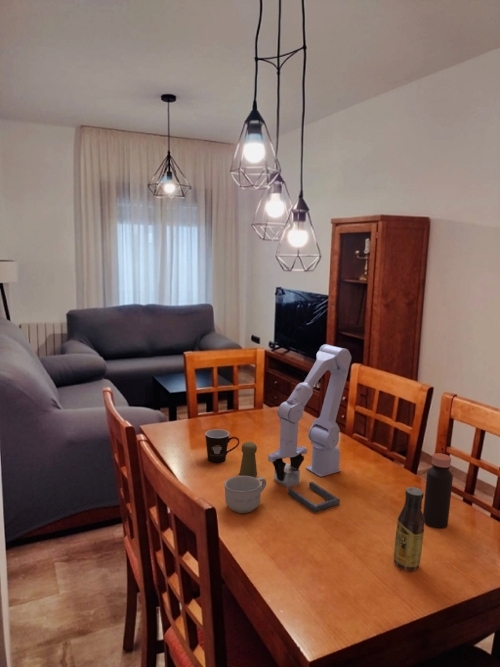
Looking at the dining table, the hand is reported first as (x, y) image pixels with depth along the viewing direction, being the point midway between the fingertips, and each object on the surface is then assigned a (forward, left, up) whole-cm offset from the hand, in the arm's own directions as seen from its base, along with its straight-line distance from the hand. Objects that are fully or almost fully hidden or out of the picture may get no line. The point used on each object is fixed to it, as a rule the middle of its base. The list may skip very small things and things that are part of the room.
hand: (286, 477), depth 161 cm
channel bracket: (0, +13, -1) cm, 13 cm away
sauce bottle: (+1, +50, -2) cm, 50 cm away
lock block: (0, 0, -1) cm, 1 cm away
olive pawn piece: (+8, -11, -2) cm, 14 cm away
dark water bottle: (-22, +41, -2) cm, 47 cm away
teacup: (+20, +7, -2) cm, 21 cm away
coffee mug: (+11, -25, -2) cm, 27 cm away
